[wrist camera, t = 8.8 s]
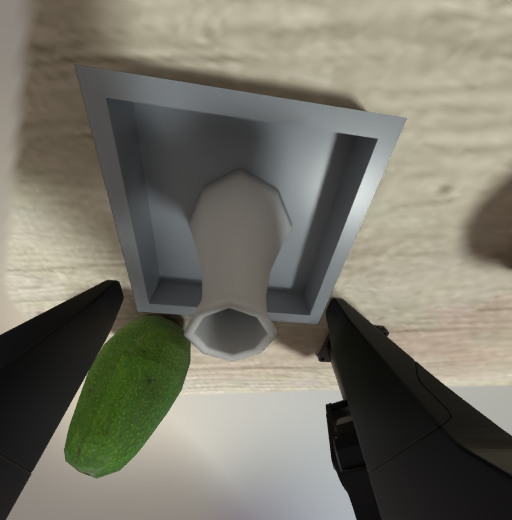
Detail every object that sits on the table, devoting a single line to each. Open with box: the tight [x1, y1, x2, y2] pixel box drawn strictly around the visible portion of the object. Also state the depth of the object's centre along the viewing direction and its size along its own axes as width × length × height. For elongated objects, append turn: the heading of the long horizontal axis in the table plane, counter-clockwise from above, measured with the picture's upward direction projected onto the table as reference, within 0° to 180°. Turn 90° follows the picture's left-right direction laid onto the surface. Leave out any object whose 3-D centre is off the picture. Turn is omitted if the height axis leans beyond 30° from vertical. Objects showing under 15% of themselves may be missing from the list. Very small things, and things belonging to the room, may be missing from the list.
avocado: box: [64, 316, 191, 478], centre depth 19 cm, size 8×8×12 cm
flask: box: [184, 168, 293, 362], centre depth 12 cm, size 7×7×10 cm
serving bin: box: [74, 64, 407, 324], centre depth 15 cm, size 15×15×4 cm
